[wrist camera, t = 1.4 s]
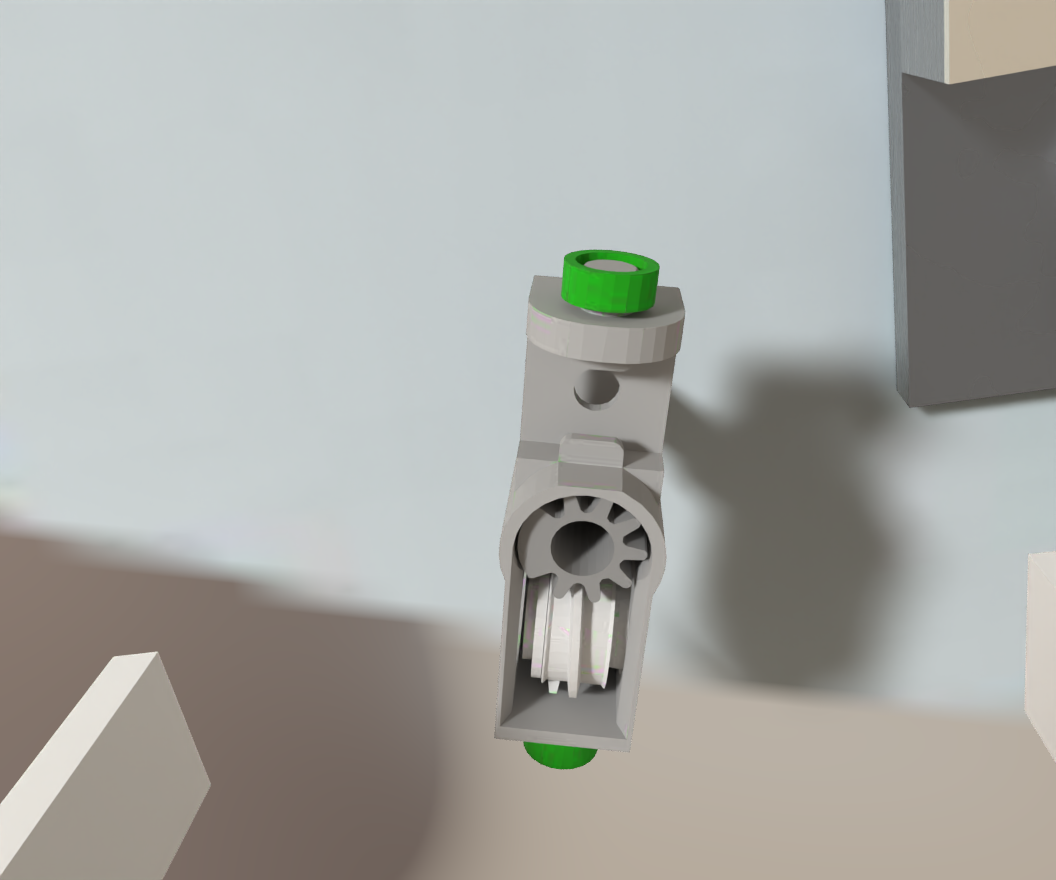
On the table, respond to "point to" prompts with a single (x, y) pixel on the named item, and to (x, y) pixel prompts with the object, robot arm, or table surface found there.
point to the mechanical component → (586, 506)
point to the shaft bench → (972, 196)
